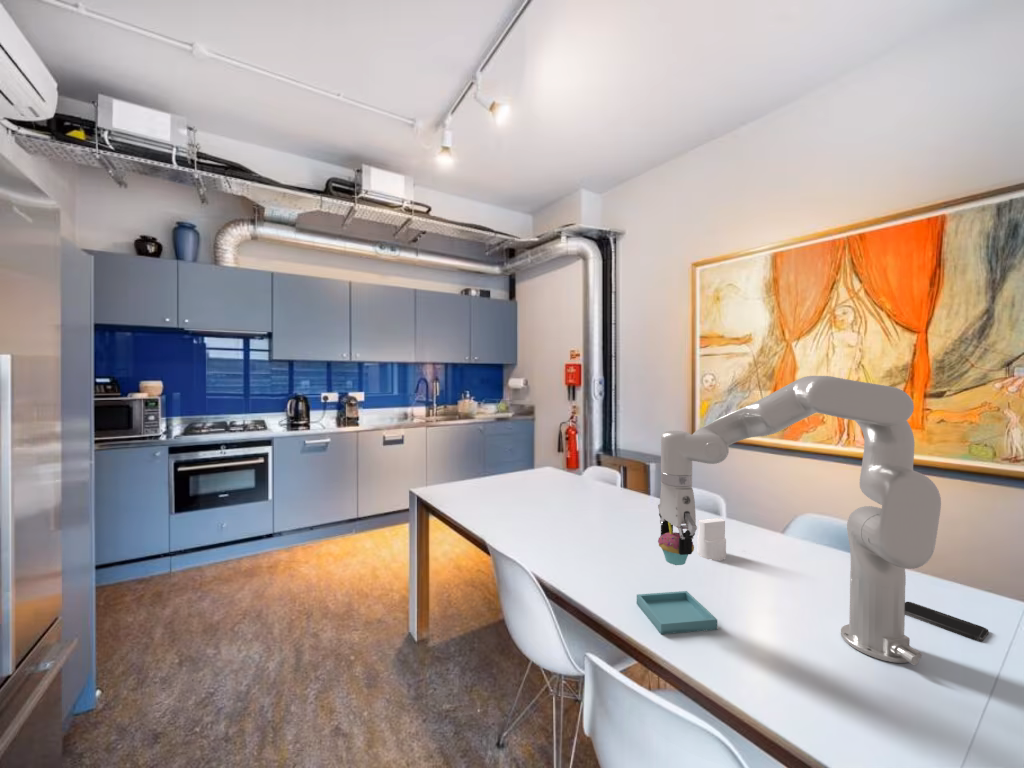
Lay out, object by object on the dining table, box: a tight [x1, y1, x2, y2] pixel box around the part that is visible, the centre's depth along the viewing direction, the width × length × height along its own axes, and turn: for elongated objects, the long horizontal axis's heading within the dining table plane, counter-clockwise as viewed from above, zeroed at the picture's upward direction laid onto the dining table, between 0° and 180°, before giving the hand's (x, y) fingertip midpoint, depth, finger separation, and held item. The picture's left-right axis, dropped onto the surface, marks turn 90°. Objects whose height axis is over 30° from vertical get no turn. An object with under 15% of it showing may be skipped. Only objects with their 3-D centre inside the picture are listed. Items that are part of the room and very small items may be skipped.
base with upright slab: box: [696, 517, 727, 561], centre depth 144 cm, size 9×9×12 cm
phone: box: [905, 601, 989, 643], centre depth 105 cm, size 8×1×15 cm
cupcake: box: [657, 522, 695, 566], centre depth 107 cm, size 9×8×12 cm
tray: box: [636, 590, 718, 635], centre depth 107 cm, size 14×15×2 cm
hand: (675, 546), depth 107 cm, fingers closed on cupcake, 8 cm apart
